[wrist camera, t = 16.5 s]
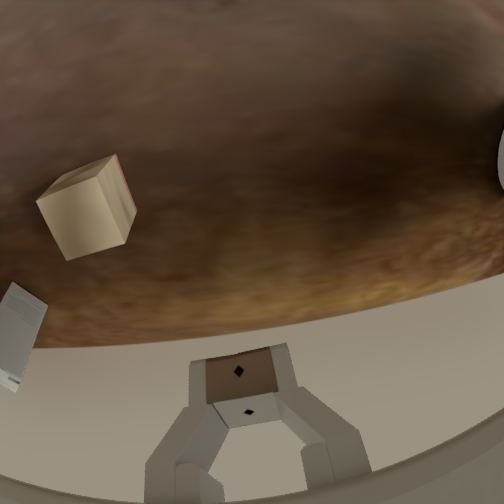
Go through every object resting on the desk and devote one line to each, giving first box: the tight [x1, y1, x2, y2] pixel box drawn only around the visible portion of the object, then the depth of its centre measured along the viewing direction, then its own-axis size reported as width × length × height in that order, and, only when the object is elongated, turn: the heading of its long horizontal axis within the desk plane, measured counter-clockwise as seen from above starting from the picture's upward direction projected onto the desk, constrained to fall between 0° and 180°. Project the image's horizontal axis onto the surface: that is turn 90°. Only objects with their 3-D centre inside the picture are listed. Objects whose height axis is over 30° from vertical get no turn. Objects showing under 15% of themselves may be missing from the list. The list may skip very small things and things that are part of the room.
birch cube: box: [36, 154, 137, 261], centre depth 24 cm, size 6×6×6 cm
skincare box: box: [0, 282, 48, 392], centre depth 27 cm, size 6×4×12 cm
